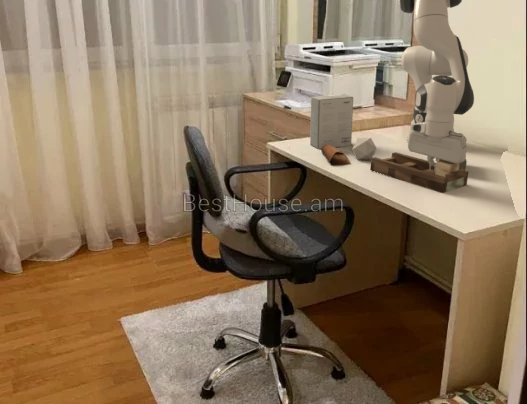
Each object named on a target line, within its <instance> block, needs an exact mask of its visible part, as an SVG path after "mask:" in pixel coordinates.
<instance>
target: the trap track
mask: <svg viewBox="0 0 527 404" xmlns="http://www.w3.org/2000/svg"><path fill="white" fill-rule="evenodd" d="M434 163H435V164H436V162H434ZM429 166H430V164H429V162H428V160H426V159H422V158H419V157H415V156H412V155H408V154H404V153H400V152H392V153H391V156H390V157H388V158H379V157H377V156H375V157H374V156H373V157H372V158H371V160H370V170H372V171H371V172H373V171H375V172H374V173H377V172H378V174H380V173H381V175H383V174H384V175H383V176H386V175H387V177H390V176H391V177H390V178H393V179H397V180H400V181H403V182H406V183H410V184H413V185H416V186H419V187H422V188H425V189H429V190H432V191H436V192H438V193H442V194H443V193H446V192H449V191H452V190H455V189H458V188H459V189H460V188H461V187H464V186H467V185H468V178H469V171H468V170H466V171H465V170H464V169H461V170H460V169H459V170H458V171H454V172H451V173H448V174H445V177H443V176H439V175H436V174H435V171H433V170H430V169H429Z"/></svg>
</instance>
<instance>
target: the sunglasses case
mask: <svg viewBox="0 0 527 404" xmlns="http://www.w3.org/2000/svg"><path fill="white" fill-rule="evenodd" d="M320 151H321V153H322V155H324V157H325V158H326V160H327V161H328V163H329V165H331V166H347V165H348V166H349V165H352V164H351V162H350V160H349V159H348V157H347V155H346V154H345V152H344V151H343V150H341V149H339V148H338V147H334V146H331V145H324V146H323V147H322V148H321V149H320Z"/></svg>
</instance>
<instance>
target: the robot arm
mask: <svg viewBox="0 0 527 404" xmlns="http://www.w3.org/2000/svg"><path fill="white" fill-rule="evenodd" d="M397 3H398V6H399V8H400V11H401V12H403V13H406V14H413V34H414V38H415V40H416V42H417V43H418V44H419V45H413V46H408V47H407V48H406V49H404V51H403V52H402V55H401V58H400V59H401V60H400V64H401V67H402V69H403V70H404V71H405V72H406V73H407V74H408V75H409V76H410V78H411V79H412V81H413V84H414V87H415V96H414V97H415V98H414V108H413V111H412V117H413V120H411V122H410V126H409V133H408V136H407V137H406V141H407V149H408V150H409V152H411V153H415V154H419V155H423V156H427V157H426V159H427V161H428V162H429V164H430V166H429V169H430V170H433V171H436V164H437V161H441V160H445V161H449V162H453V163H457V164H458V163H462V162H464V161H465V159H466V157H467V140H468V139H467V137H466V136H465V135H464V134H463V133H460V132H455V131H454V130H455V129H454V124H455V116H454V115H461V116H462V115H464V114H466V113H467V112H469V111H470V109H472V108H473V106H474V103H475V96H474V90H473V88H472V85H471V82H470V78H469V74H468V64H469V56H468V53H467V52H466V50H465V49H463V46H462V42H461V40H460V38H459V37H458V36H457V35H456V34H455V33H453V31H452V29H451V27H450V23H449V12H448V11H449V10H448V8H450V9H452V8H455V7H458V6H459V5H460V4H461V3H462V0H397ZM466 160H467V159H466ZM435 163H436V164H435Z"/></svg>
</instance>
